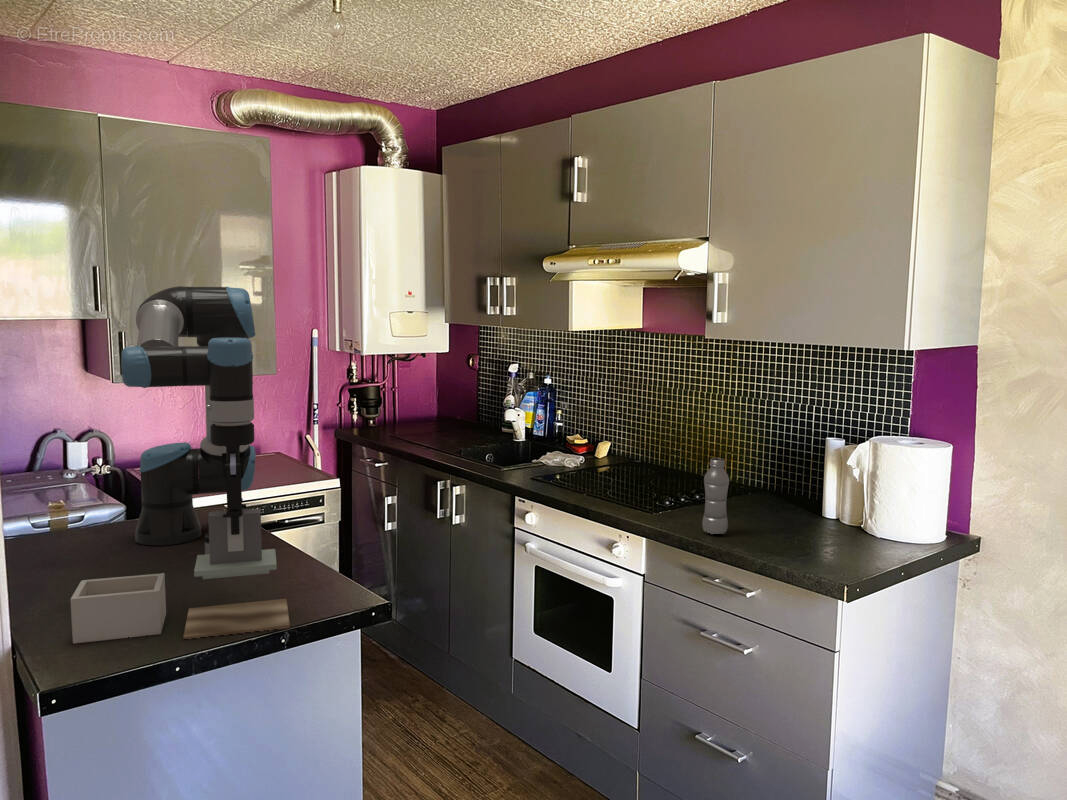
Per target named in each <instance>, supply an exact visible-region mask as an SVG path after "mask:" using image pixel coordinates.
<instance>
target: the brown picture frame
mask: <svg viewBox="0 0 1067 800" xmlns="http://www.w3.org/2000/svg"><path fill="white" fill-rule="evenodd" d="M289 616H290V615H289V609H288V602H287V598H281V599H279V598H278V599H270V600H262V601H261V600H259V601H248V602H241V603H239V602H238V603H229V604H221V605H218V604H217V605H211V606H200V607H190V608H188V610H187V616H186V620H185V626H184V632H183V640H184V639H189V640H192V639H191V638H197V639H201V638H200V637H206V638H209V637H208V636H215V637H220V636H219V635H224V636H230V635H229V634H233V635H238V634H237V633H242V634H246V633H245V632H251V633H255V632H254V631H260V632H267V631H266V630H269V631H274V630H273V629H278V630H286V629H290V628H291V625H290V617H289ZM264 630H265V631H264Z"/></svg>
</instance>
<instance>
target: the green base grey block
mask: <svg viewBox="0 0 1067 800" xmlns="http://www.w3.org/2000/svg"><path fill="white" fill-rule="evenodd" d="M261 510H262V509H261V508H249V509H248V508H243V509H242V511H243V514H242V515H243V542H244V551H233V552H228V535H227V518H223V514H226V512H227V510H217V511H215V510H213V511H208V522H209V529H208V532H209V550H210V554H205V553H204V554H197V556H196V561H195V565H194V569H193V571H194V572H193V577H194V578H195V577H202V580H211V579H221V578H222V579H223V578H231V577H243V576H244V577H245V576H254V575H264V574H265V575H266V574H270V571H275V570H277V567H278V566H277V556H276V555H277V554H276V548H269V549H262V548H263V547H262V545H263V544H262V543H263V542H262V515H261V513H262V512H261Z"/></svg>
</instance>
